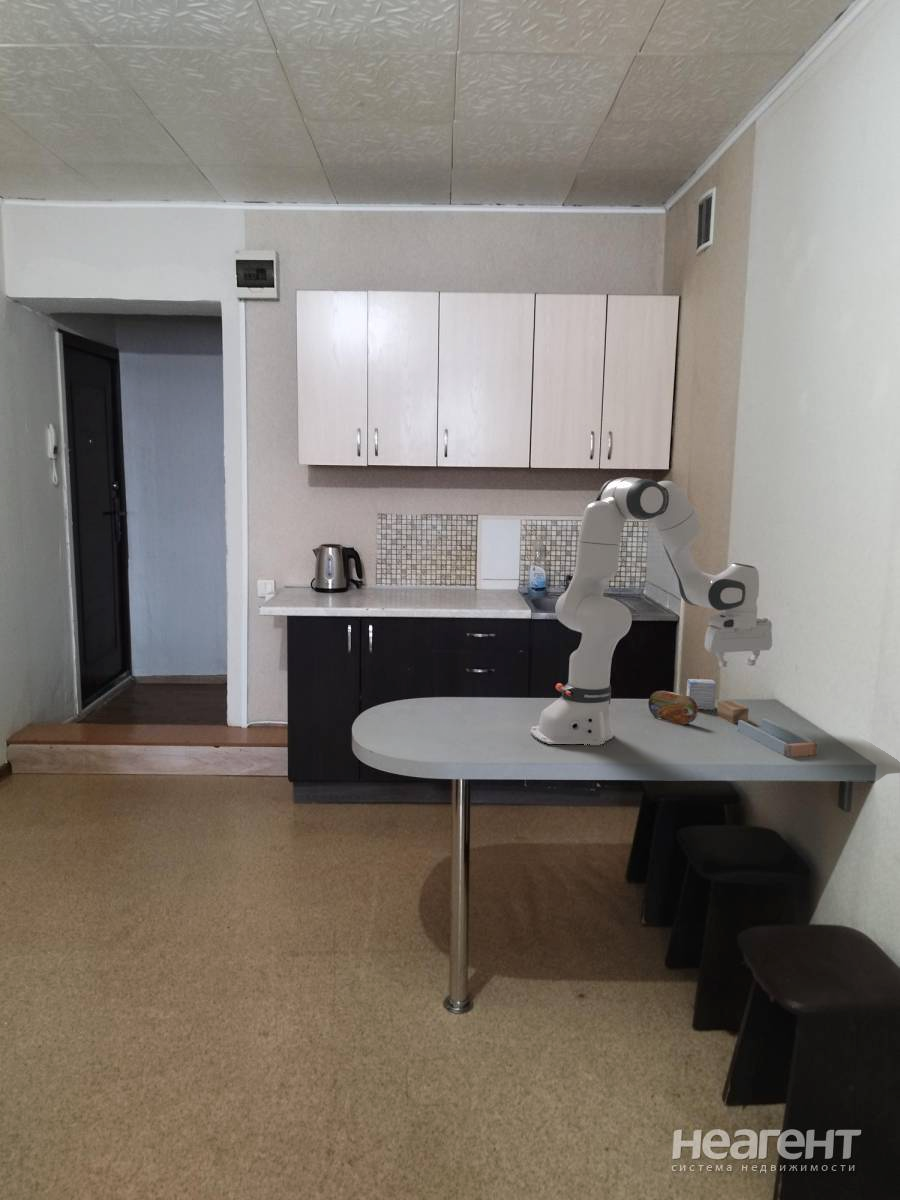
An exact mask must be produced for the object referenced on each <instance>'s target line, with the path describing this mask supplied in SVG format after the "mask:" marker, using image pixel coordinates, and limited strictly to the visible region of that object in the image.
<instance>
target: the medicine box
mask: <svg viewBox="0 0 900 1200" xmlns="http://www.w3.org/2000/svg"><path fill="white" fill-rule="evenodd" d="M686 682H687V683H686V684H687V685H686V694H685V695H686V696H689V697H691V698H692V699H693V700H694V701H695V702H696V704H697V707H698V710H700V709H702V710H703V709H704V710H706V711H715V705H716V704H715V703H716V693H717V692H716V690H717V683H716V682H715V680H713V679H705V678H704V679H703V678H688V679H687V681H686ZM708 709H709V710H708ZM704 710H703V711H704Z"/></svg>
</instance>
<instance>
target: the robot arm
mask: <svg viewBox="0 0 900 1200" xmlns="http://www.w3.org/2000/svg"><path fill="white" fill-rule="evenodd" d="M627 520H632V521H633V520H636V521H638V520H640V521H646V520H651V521H652V523H653V525H654V527H655V528H656V530H657V532H658V534H659V536H660V538H661V539H662V545H663V547H664V551H665V553H666V556H667V558H668V559H669V562H670V565H671V566H672V569H673V571H674V573H675V576H676V578H677V580H678V581H677V582H678V589H679V593H680V596H681V599H682V600H683V601H684V602H685V603H686V604H687V605H690V606H695V607H696V606H697V607H702V608H705V609H711V610H714V611H721V612H720V613H718V614H715V615H713V616H710V617H709V618H708V620H707V622H708V625H709V626H708V627H707V629H706V631H705V637H704V649H705V650H706V651H707V652H708V653H712V654H715V655H716V657H717V659H718V667H720V668H727V666H728V665H727V664H728V661H726V660H725V659H724V656H725V653H735V652H751V653H752V654H751V656H750V658H747V665H748V666H756V663H757V662H756V661H757V660H758V658H759V656H760V655H761V651H769V650H771V648H772V646H773V634H772V629H773V628H772V627H773V626H772V625H773V623H772V622H771V621H770V620H769V619H768V618H765V617H764V618H758V605H757V604H758V603H757V602H758V598H759V593H760V577H759V571H758V569H757V567H755V566H753V565H750V564H744V563H737V562H733V563H730V564H729V567H728V568H727V569H725V570H723V571H722V572H720V573H717V574H716V575H715V574H714V575H713V574H710V573H706V572H705V571H702V570H701V569H700V568H699V567H698V566H697V564H696V562H695V559H694V557H693V555H692V552H691V551H690V547H689V546H691V545H692V544H693V543H694V542H695V541H697V539H698V538H699V536H700V533H701V531H702V526H701V525H702V524H701V522H700V519H699V517H698V514H697V513H696V511H695V509H694V508H693V506H692V503H691V502H690V500H689V499H688V498H687V496H686V495H685V493H684V492H683V491H682V490H681V489H680V487H679V486H678V485H677V484H676V483H675V482H673V481H672V480H660V481H657V482H656V481H655V480H652V479H649V478H639V477H638V478H637V477H635V476H634V477H633V476H629V477H628V476H626V477H616V478H612V479H610V480H608V481H606V482H605V483H604V484H603V485H602V486H601V488H600V490H599V492H598V494H597V497H596V499H595V501H593V502H590V503H588V504H587V506H585V508H584V512H583V515H582V519H581V524H580V527H579V532H578V533H579V534H578V541H577V548H576V549H577V551H576V560H575V567H574V572H573V575H572V578H571V580H570V582H569V585H568V587H567V589H566V591H564V593H562V594H561V595H560V596H559V597H558V599H557V601H556V603H555V608H554V610H555V611H554V612H555V617H556V619H557V620H558V621H559V622H560V623H561V624H562V625H564V626H565V627H566V628H568V629H570V630H571V631H575V632H578V633H581V639H580V643H579V646H578V648H577V649H575V650H574V651H573V652H572V653H571V654H570V655H569V664H568V681H567V683H566V684H565V685H564V684H562V683H560V682H559V683H556V685H555V689H556V690H557V691H558V692H560V693H561V696H560V697H559V698H557V700H555V701H554V702H552V703H551V704H549V705H548V706H547V707H545V708H544V709H543V710H542V711H541V713H540V716H539V721H538V725H534V726H531V728H530V733H531V732H532V733H533V734H534V735H535V736H536V737H537V738H539V739H540V740H542V741H544V742H546V743H550V744H584V745H583V746H603V745H602V744H604V743H605V744H606V742H608V741H610V740H611V739H613V737H614V732H613V729H612V724H611V715H610V705H611V697H612V685H611V684H610V683H611V682H610V679H611V670H612V669H611V666H612V658H613V655H614V651H615V649H616V646H617V645H618V643H619V641H620V640H621V639H622V638H623V637H625V636H626V635H627V634H628V633H629V631H630V630H631V629H630V628H631V626H632V622H633V617H632V613H631V611H630V609H629V607H628V606H627V605H625V604H623V603H622V602H620V601H619V600H616V599H615V598H611V597H607V596H604V592H605V589H606V587H607V585H608V583H609V582H610V580H612V579H613V578H614V577H615V576H616V575H617V573H618V569H619V561H620V550H621V539H622V537H621V536H622V530H623V526H624V524H625V523H626V521H627ZM722 611H723V612H722ZM533 729H535V730H533ZM544 739H545V740H544ZM609 739H610V740H609ZM605 741H606V742H605ZM587 744H588V745H587ZM589 744H590V745H589ZM600 744H601V745H600ZM605 744H604V745H605Z"/></svg>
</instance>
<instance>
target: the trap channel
mask: <svg viewBox="0 0 900 1200" xmlns="http://www.w3.org/2000/svg"><path fill="white" fill-rule="evenodd" d="M760 724H761V726H760V727H761V729H760V728H758V727H756V726H754V725H752V724H750V723H749V722H748V723H746V722H744V721H742V720H738V724H737V731H738V732H740V733H741V734H743V735H745V736H747V737H749V738H751V739H753V740H754V739H755V740H754V741H756V740H757V742H758V741H759V742H758V743H760V744H762V745H764V746H765V745H767V746H768V748H769V747H770V748H769V749H771V748H772V749H771V750H773V749H774V750H773V751H775V752H777V753H778V752H779V754H780V753H781V755H782V754H783V756H784V757H786V758H795V757H809V756H808V755H810V756H817V750H818V749H817V748H818V743H816V742H815V741H812V740H811V739H809V738H806V737H804V736H802V735H800V734H798V733H795V732H794V731H792V730H790V729H787V728H785V727H783V726H782V725H779V724H777V723H776V722H773V721H772V720H769V719H768V718H761V723H760ZM764 730H765V731H764ZM766 731H767V732H766ZM768 732H769V733H768ZM770 733H771V734H770ZM772 734H773V735H772ZM774 735H775V736H774ZM776 736H777V737H776ZM778 737H779V738H778ZM780 738H781V739H780ZM782 739H783V740H782ZM784 740H785V741H784ZM786 741H787V742H786ZM767 746H766V747H767Z"/></svg>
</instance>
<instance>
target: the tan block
mask: <svg viewBox="0 0 900 1200" xmlns="http://www.w3.org/2000/svg"><path fill="white" fill-rule="evenodd" d="M717 715H718V716H717ZM716 716H717V717H719V716H720V717H721V719H722V718H723V719H722V720H724V719H725V721H726V720H727V721H726V722H728V723H730V724H732V725H734V724H735V723H738V720H742V721H744V722H746V723H748V724H749V708H748V706H747V707H746V706H745V705H742V704H740V703H738V702H736V701H734V700H726V701H725V700H724V701H723V700H722V701H717V712H716ZM720 717H719V718H720ZM733 723H734V724H733Z"/></svg>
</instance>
